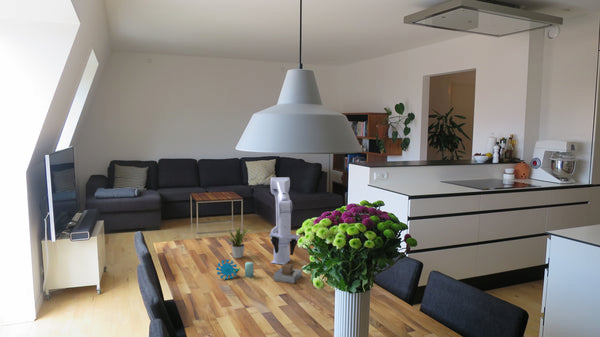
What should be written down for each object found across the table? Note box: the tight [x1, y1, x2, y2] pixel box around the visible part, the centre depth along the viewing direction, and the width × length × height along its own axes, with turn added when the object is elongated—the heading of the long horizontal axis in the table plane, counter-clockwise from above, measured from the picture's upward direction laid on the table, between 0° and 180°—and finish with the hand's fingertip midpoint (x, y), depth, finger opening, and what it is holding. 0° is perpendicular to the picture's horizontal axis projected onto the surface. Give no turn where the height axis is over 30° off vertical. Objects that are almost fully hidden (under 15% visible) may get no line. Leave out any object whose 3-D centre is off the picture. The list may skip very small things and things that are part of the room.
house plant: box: [227, 227, 251, 259], centre depth 232 cm, size 14×14×16 cm
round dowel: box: [244, 261, 255, 278], centre depth 206 cm, size 4×4×6 cm
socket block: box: [273, 267, 303, 284], centre depth 204 cm, size 10×10×3 cm
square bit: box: [281, 262, 294, 274], centre depth 203 cm, size 4×4×6 cm
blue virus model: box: [215, 258, 241, 281], centre depth 205 cm, size 11×6×10 cm
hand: (284, 253), depth 208 cm, fingers open, 7 cm apart
